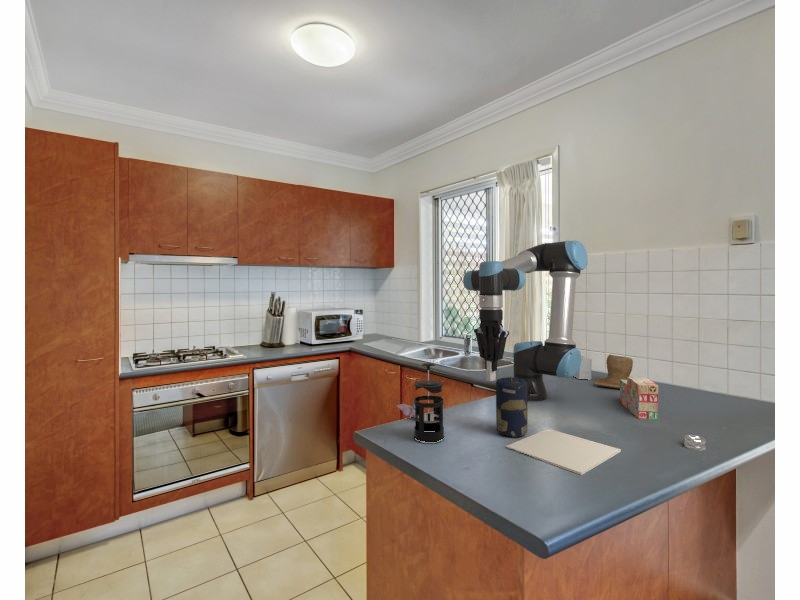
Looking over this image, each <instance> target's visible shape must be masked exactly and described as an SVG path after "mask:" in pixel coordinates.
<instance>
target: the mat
mask: <svg viewBox="0 0 800 600" xmlns="http://www.w3.org/2000/svg"><path fill="white" fill-rule="evenodd" d="M506 447H508V448H511V449H514V450H516V451H519V452H521V453H524V454H527V455H529V456H528V457H530V456H532V457H534V458H533V459H535V458H537V459H536V460H538V459H540V460H539V461H541V460H542V462H544V461H545V462H544V463H546V462H547V464H549V463H550V464H549V465H552V464H553V466H555V467H557V466H558V468H561V469H564V470H567V471H569V472H571V473H575V474H577V475H580V476H583V475H584V474H587V473H588V472H589V471H590V470H591V471H592V470H593V469H594V468H596V467H597V466H599V465H601V464H603V463H604V462H606V461H608V460H610V459H611V458H612V457H614V456H616V455H618V454H619V453H621V451H622V449H620V448H619V447H613V446H611V445H606V444H603V443H600V442H595V441H593V440H589V439H586V438H582V437H579V436H575V435H572V434H569V433H565V432H561V431H559V430H555V429H551V428H547V429H544V430H542V431H539V432H537V433H535V434H532V435H529V436H527V437H524V438H522V439H519V440H518V441H515V442H512V443H510V444H507V445H505V448H506ZM516 451H515V452H516ZM519 452H518V453H519ZM521 453H520V454H521ZM524 454H523V455H524ZM527 455H526V456H527ZM532 457H531V458H532Z"/></svg>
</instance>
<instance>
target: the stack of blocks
mask: <svg viewBox="0 0 800 600" xmlns="http://www.w3.org/2000/svg"><path fill="white" fill-rule="evenodd" d="M619 402H620V403H621V404H622V406H623V407H624V408H626V410H627V411H629V412H630V413H631V414H632V415H633V416H634V415H635V418H636V419H638V420H648V419H649V420H651V421H652V420H653V421H658V419H659V412H658V411H659V385H658V384H657V383H655V382H654V381H653V380H650V379H648V378H647V377H644V376H643V377H642V376H641V377H640V376H629V377H627V380H620V389H619Z"/></svg>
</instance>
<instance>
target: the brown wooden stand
mask: <svg viewBox="0 0 800 600" xmlns="http://www.w3.org/2000/svg"><path fill="white" fill-rule="evenodd" d="M605 364H606V369H607V370H606V371H607V376H606V377H605V378H597V379H595V381H594V385H595V386H597V387H603V388H608V389H616V390H617V389H619V390H620V380H627V377H631V376H630V375H631V373H632V371H633V367H634V366H633V365H634V361H633V358H631V357H630V356H629V357H628V356H621V355H614V354H608V355H607V358H606V363H605Z"/></svg>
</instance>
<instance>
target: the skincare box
mask: <svg viewBox="0 0 800 600" xmlns="http://www.w3.org/2000/svg"><path fill="white" fill-rule="evenodd" d="M592 364H593V363H592V358H588V357H586V356H582V355H581V365H580V368H579V370H578V372H577V373H576V375H574V377H576V378H578V379H588V380H587V381H591V380H592V368H593V367H592ZM574 377H573V378H574ZM576 378H575V379H576ZM578 379H577V380H578Z"/></svg>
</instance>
